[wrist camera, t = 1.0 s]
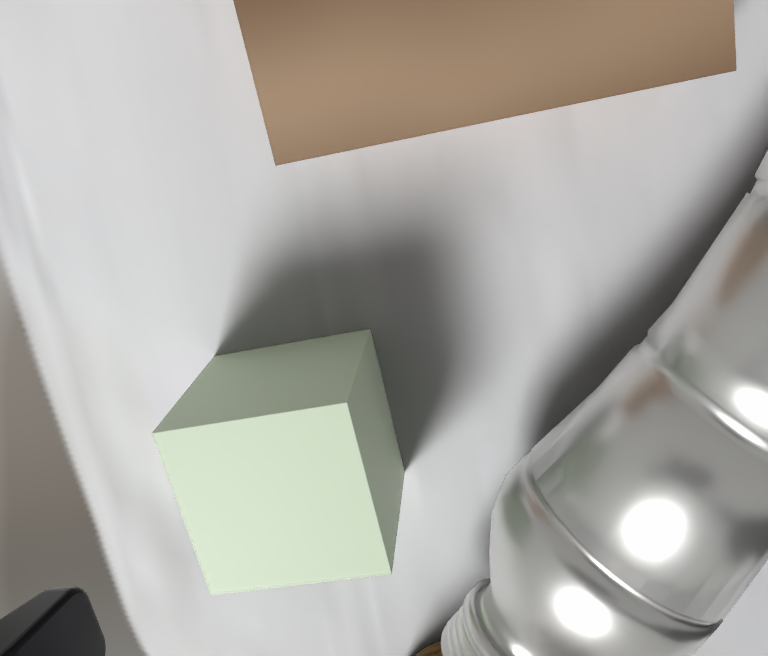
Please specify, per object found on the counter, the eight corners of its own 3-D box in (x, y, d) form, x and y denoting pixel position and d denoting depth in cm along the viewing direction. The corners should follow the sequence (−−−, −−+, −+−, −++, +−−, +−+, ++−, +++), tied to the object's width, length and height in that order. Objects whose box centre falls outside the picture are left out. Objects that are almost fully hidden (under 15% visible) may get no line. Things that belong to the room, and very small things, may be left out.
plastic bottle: (1046, -52, 11) (388, 714, 18) (1344, 176, 12) (605, 820, 19) (834, -23, 17) (400, 547, 24) (1043, 129, 18) (566, 634, 25)
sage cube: (405, 470, 23) (391, 574, 19) (258, 490, 24) (211, 595, 19) (370, 328, 22) (347, 402, 17) (214, 354, 22) (151, 433, 18)
